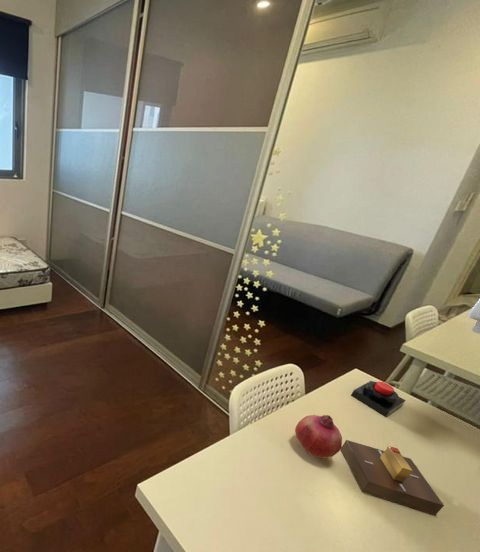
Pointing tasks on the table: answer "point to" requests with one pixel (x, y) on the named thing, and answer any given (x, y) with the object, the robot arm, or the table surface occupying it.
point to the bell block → (377, 399)
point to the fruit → (319, 435)
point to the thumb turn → (396, 464)
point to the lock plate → (389, 479)
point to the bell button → (384, 388)
